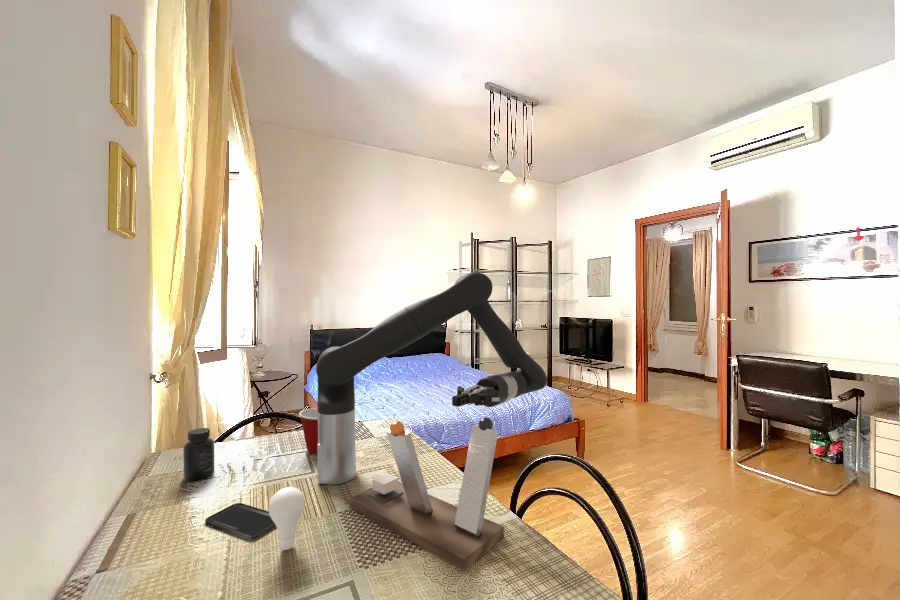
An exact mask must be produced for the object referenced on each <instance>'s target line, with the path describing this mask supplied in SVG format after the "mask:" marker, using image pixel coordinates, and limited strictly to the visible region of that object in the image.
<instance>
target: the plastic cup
mask: <svg viewBox="0 0 900 600" xmlns="http://www.w3.org/2000/svg"><path fill="white" fill-rule="evenodd" d="M298 415H299V417H300V421H301V425H302V431H303V435H304V442H305V445H306V451H307V453H308V455H309V454H310V455H317V445H318V407H315V408H314V407H313V408H307V409H303V410H300V412H299V413H298Z"/></svg>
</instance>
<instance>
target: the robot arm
mask: <svg viewBox="0 0 900 600" xmlns="http://www.w3.org/2000/svg"><path fill="white" fill-rule="evenodd" d="M493 287H494V286H493V282H492V280H491V279H490V277H489V276H488V275H486V274H484V273H482V272H476V271H475V272H474V271H473V272H469V273H466V274H464V275H463V274H462V275H461V276H459V277H458V278H457V279H456V280H455V283H454V284H453V285H452V286H450V287H448V288H447V289H445V290H443V291H442V292H440V293H438V294H435V295H432V296H430V297H427V298H425V299H421V300H419V301H416V302H415V303H412V304H410V305H407V306H406V307H404V308H402V309H400V310H398V311H397V312H395V313H393V314H392V315H389V316H388V317H387V318H385V319H383V320H382V321H381V322H379V323H378V324H377V325H375V326H374V327H373V328H372V329H371V330H369V331H368V332H367V333H366V334H364V335H362V336H361V337H359V338H356V339H355V340H353V341H351V342H348V343H347V344H346V343H345V344H344V345H341V346H330V347H328V348H326V349H325V350H323V351H322V352H321V354H320V356H319V357H318V358H317V361H316V366H315V370H316V371H315V372H316V375H317V400H316V401H317V407H316V408H318V445H317V454H316V455H317V462H316V463H317V484H318V485H321V484H323V485H330V486H331V485H332V486H333V485H340V484H344V483H347V482H349V481H352V480H353V479H354V478H355V477H356V476H357V475H356V474H357V465H356V464H357V461H356V459H357V458H356V457H357V455H356V409H355V408H356V404H355V403H356V401H355V400H356V397H355V396H356V395H355V376H357V375H358V374H360V373H361V372H362V371H364V370H365V369H367V368H368V367H370V366H371V365H373V364H374V363H376V362H377V361H379V360H381V359H384V358H385V357H388V356H390V355H391V354H394V353H396V352H398V351H400V350H402V349H404V348H406V347H408V346H409V345H411V344H414V343H415V342H417V341H419V340H421V339H422V338H423V337H425V336H427V335H429V334H430V333H431V332H433V331H434V330H436V329H438V328H439V327H441V326H442V325H443V324H445V323H447V322H448V321H449V320H451V319H452V318H454V317H456V316H457V315H460V314H462V313H464V312H466V311H467V312H468V313H469V314H470V316H472V318H473V319H474V321H475V322H476V323H477V324H478V326H479V327H480V328H481V330H482V331H483V333H484V335H485V336H486V337H487V339H488V341H489V342H490V343H491V346H492V347H493V349H494V350H495V352H496V354H497V355H498V356H499V358H500V360H501V361H502V364H503V365H504V366H505V367H506V368H512V369H513V368H516V369H518V370H515V371H509V372H508V371H507V372H504V373H495V374H493V375H487V376H484V377H482V378H480V379H479V380H478V381H477V383H476V384H474V385H472V386H469V387H468V388H467V387H466V389H465V387H463V386H461V385H459V386H458V385H457V389H456V394H457V395H453V396H452V397H451V405H452V406H453V407H457V408H459V407H463V406H465V405H468V406H470V405H471V406H472V405H474V406H476V407H478V406H484V407H487V408H493V407H496V406H499V405H501V404H504V403H508V402H509V401H510V400H513V399H515V398H519V397H520V396H522V395H525V394H529V393H533V392H536V391H540V390H543V389H545V387H546V385H547V382H548V378H547V377H548V376H547V375H546V372H545V370H544V369H543V367H542V366H541V365H540V364H539V363H538V362H537V361H535V359H533V358H532V357H531V356H530V355H529V354H528V353H527V352H526V351H525V349H524V348H523V346H522V345H521V343H520V341H519V340H518V338H517V336H516V335H515V334H514V332H513V331H512V330H511V329H510V328H509V326H508V325H507V324H506V323H505V322H504V321H503V320H502V319H501V318H500V316H499V315H497V313H496V312H495V310H494V309H493V308H492V306H491V304H490V303H489V298H490V297H491V295H492V292H493Z"/></svg>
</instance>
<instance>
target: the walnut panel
mask: <svg viewBox="0 0 900 600" xmlns="http://www.w3.org/2000/svg"><path fill="white" fill-rule="evenodd" d="M428 496H429V499H430V502H431V506H432V509H433V513H432V515H428V514H425V513H423V512H421V511H419V510H417V509H414V508H412V507H410V506H409V503H408V499H407V496H406V493H405V490H404V487H403V483H402V482H401V481H398V488H397V489H395V490H393V491H391V492H390V493H388V494H385V495H384V494H382V493H380V492H378V491H375V490H373V487H370V488H368V489H367V490H364V491H362V492H360V493H358V494H356V495H353V496H351V497H349V499H348V500H349V502H348V503H349V505H348V508H350V509H351V510H353V511H355V512H357V513H359V514H360V515H362V516H363V517H366V518H367V519H369V520H371V521H373V522H375V523H377V524H379V525H380V526H382V527H384V528H386V529H387V530H389V531H391V532H393V533H395V534H397V535H398V536H400V537H402V538H404V539H406V540H408V541H409V542H410V543H413V544H414V545H416V546H418V547H420V548H421V549H423V550H425V551H426V552H429V553H431V554H433V555H435V556H436V557H438V558H440V559H442V560H444V561H445V562H447V563H449V564H450V565H453V566H454V567H456V568H458V569H460V570H461V571H463V572H466V571H467V570H469V568H471V567H472V566H473V565H474V564H475V563H476V562H477V561H479V560H480V559H481V558H482V557H483V556H485V554H487V553H488V552H489V551H490V550H491V549H492V548H493V547H494V546H495V545H497V544H498V543H499V542H500V541H501V540H502V539H503V538H504V537H505V526H504V525H501V524H499V523H497V522H494V521H492V520H490V519H488V518H485V517H484V519H483V525H482V535H481V537H480V538H477V537H475V536H473V535H471V534H469V533H467V532H465V531H462V530H460V529H458V528H456V527H454V522H455V519H456V513H457V508H458V505H457V506H456V505H454V504H452V503H449V502H447V501H445V500H442V499H440V498H437V497H436V496H433V495H431V494H429V493H428Z"/></svg>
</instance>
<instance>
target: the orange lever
mask: <svg viewBox="0 0 900 600" xmlns="http://www.w3.org/2000/svg"><path fill="white" fill-rule="evenodd" d="M386 435H387V438H388V441H389V444H390V449H391V451H392V454H393V458H394V461H395V463H396V467H397V470H398V472H399V473H398V474H399V477H400V480H401V483H403V487H404V490H405V493H406V496H407V499H408V503H409V506H410V507H412V508H414V509H417V510H419V511H421V512H423V513H425V514H428V515H432V513H433V509H432V506H431V502H430V499H429V496H428V494H429V492H428V489H427V487H426V482H425V478H424V476H423V473H422V469H421V466H420V463H419V459H418V455H417V452H416V449H415V445H414V443H413V438H412V435H411V432H410V431H408V430H405V425H404V424H403V422H401V421H397V420H395V421H393V422H392V423H391V424H390V425H389V428H388V429H387V430H386Z"/></svg>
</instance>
